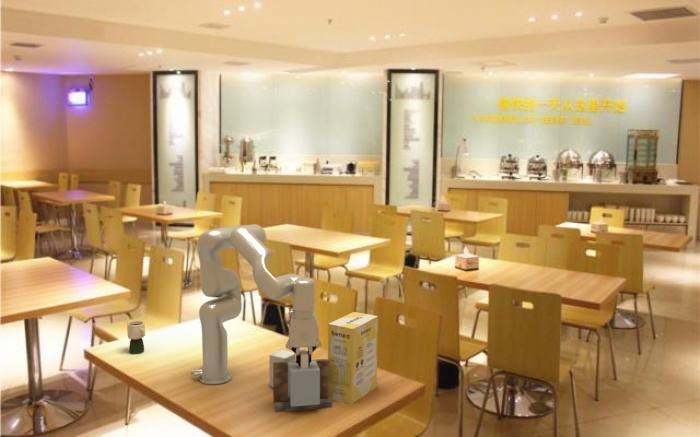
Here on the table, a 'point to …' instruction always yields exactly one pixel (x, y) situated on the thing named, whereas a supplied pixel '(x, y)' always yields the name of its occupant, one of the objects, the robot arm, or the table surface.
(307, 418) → the table surface
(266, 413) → the table surface
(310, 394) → the slate cabinet
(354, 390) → the pasta box
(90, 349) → the table surface
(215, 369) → the robot arm
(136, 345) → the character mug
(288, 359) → the supplement box
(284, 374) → the walnut wall board
